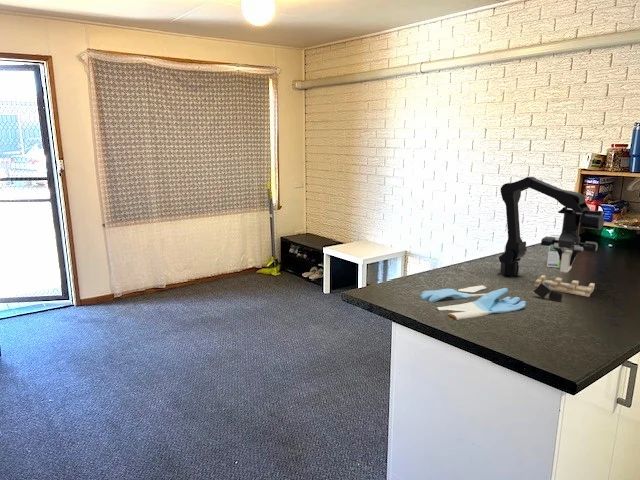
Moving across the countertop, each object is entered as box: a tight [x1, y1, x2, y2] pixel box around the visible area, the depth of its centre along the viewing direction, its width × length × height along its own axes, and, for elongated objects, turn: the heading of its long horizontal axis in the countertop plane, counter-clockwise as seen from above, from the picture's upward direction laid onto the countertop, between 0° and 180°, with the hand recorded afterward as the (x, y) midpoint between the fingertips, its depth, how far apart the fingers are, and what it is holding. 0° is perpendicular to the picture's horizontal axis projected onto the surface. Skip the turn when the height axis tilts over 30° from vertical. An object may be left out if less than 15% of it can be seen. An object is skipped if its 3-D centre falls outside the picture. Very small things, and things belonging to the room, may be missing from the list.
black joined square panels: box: [533, 282, 564, 302], centre depth 168 cm, size 9×2×6 cm
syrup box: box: [546, 234, 561, 269], centre depth 213 cm, size 6×6×14 cm
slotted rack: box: [533, 274, 596, 298], centre depth 181 cm, size 12×19×2 cm, turn 52°
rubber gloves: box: [419, 284, 527, 321], centre depth 165 cm, size 27×33×6 cm
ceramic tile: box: [559, 249, 573, 273], centre depth 179 cm, size 2×8×7 cm, turn 142°
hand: (566, 265), depth 180 cm, fingers closed on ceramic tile, 2 cm apart
